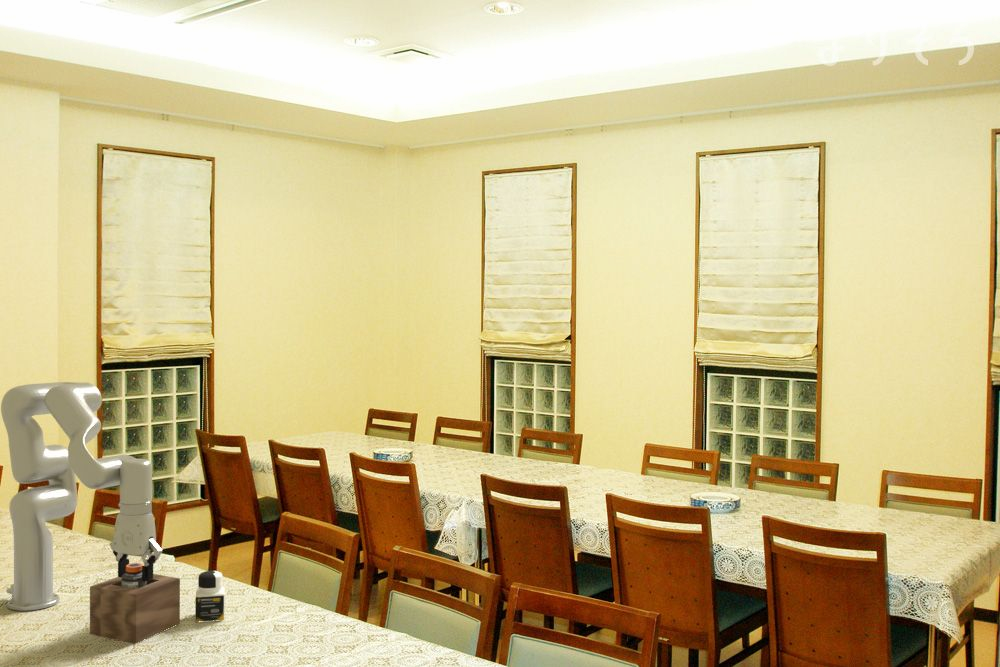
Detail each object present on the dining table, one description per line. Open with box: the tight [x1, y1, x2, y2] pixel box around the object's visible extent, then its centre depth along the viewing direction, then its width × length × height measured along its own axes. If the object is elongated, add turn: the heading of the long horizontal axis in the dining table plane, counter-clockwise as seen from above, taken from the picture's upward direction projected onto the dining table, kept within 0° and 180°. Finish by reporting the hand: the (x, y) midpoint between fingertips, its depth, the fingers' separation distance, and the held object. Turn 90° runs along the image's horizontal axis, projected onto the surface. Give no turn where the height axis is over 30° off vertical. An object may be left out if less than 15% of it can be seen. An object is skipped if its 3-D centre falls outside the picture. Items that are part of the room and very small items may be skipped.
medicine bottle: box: [194, 570, 226, 623], centre depth 246 cm, size 7×7×12 cm
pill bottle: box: [122, 562, 147, 589], centre depth 236 cm, size 6×6×11 cm
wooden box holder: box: [89, 573, 181, 644], centre depth 236 cm, size 15×15×12 cm
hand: (135, 577), depth 236 cm, fingers open, 7 cm apart
